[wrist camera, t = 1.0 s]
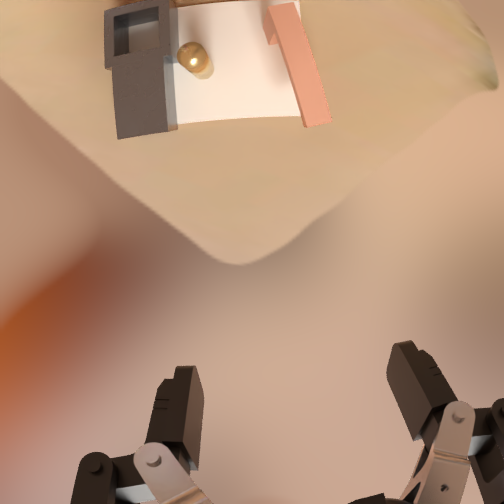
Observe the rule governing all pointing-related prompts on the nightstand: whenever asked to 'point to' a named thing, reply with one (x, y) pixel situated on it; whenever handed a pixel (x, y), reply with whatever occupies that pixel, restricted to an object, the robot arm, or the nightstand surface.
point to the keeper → (297, 62)
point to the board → (227, 62)
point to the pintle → (195, 60)
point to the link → (142, 68)
